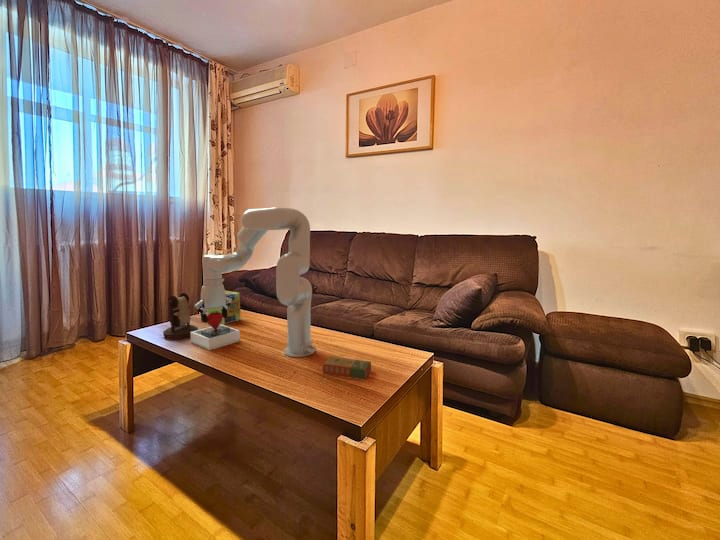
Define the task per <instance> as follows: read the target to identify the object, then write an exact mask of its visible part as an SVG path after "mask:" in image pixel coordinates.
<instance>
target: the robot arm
mask: <svg viewBox="0 0 720 540" xmlns="http://www.w3.org/2000/svg"><path fill="white" fill-rule="evenodd" d="M240 219H241V220H240V221H241V222H240V223H241V225H242V228H241V229H240V230H239V231H238V232H237V235H236V238H237V240H238V241H239V243H240V244H239V246H238V248H236V250H235V251H234V252H233V253H229V254H223V255H219V254H217V253H216V254H215V253H214V254H213V253H212V254H210V253H209V254H205V255H203V256H202V259H201V261H202V277H203V278H202V279H203V285H202V286H201V290H200V299H199V301H198V302H196V303H195V304H194V308H195V310H196V311H197V312H198V313H199V314H200V320H201V323H204V324H206V323H207V310H208V309H212V308H217V307H222V308H223V309H222V315H223V318H227V309H228V307H229V306H230V303H231V301H232V299H231V298H229V297H226V294H225V291H226V290H225V287H224V284H223V282H224V281H225V278H223V275H222V274H223V273H224V274H226V273H230V272H234V271H238V270H240V269H241V268H243V267H244V266H245V265H246V264H247V263H248V261H249V260H250V259H251V258H252V256H253V254H254V251H255V246H256V245H257V244H258V243H259V241H260V240H261V239H262V238H263V237H264V236H265V234H266V233H267V232H268V231H277V230H278V231H282V230H283V231H284V230H289V231H290V232H289V233H290V234H289V237H288V252H287V253H285V254H283V255H281V256H280V257H279V259H278V260H277V262H276V268H275V269H276V273H275V278H276V280H275V281H276V283H275V284H276V285H275V287H276V289H275V292H276V297H277V300H278V301H279V302H280V304H282V305H284V306H286V307H287V310H286V312H287V313H286V314H287V316H286V317H287V318H286V319H287V320H286V322H287V324H286V325H287V346H286V347H285V348H284V349H283V353H284V355H285V356H288V357H290V358H303V357H308V356H311V355H312V354H314V353H315V351H316V350H317V346H313V342H312V340H311V337H312V336H311V335H312V334H311V326H312V325H311V308H312V307H311V305H312V304H311V303H312V298H313V296H312V295H313V287H312V284H311V282H310V281H309V279H307V278H305V277H301V275H303V274H306V273H307V272H308V271H309V269H310V266H311V265H310V263H311V261H310V259H311V257H310V255H311V254H310V253H311V250H310V249H311V245H310V244H311V243H310V242H311V241H310V240H311V225H310V221H309V219H308V217H307V216H306V215H305V214H304V213H303V212H301V210H298V209H295V208H290V207H278V206H277V207H267V208H263V207H262V208H250V209H247V210H245V212H244V213H242V215H241V218H240ZM226 300H227V303H226ZM207 324H208V323H207Z"/></svg>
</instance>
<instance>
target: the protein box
mask: <svg viewBox="0 0 720 540" xmlns="http://www.w3.org/2000/svg"><path fill="white" fill-rule="evenodd" d="M225 294H226V297H229V298H231V299H232V301H231V303H230V306H229V307H228V309H227V318H222V321H221V323H222V325H224V324H225V325H227V324H233V323H235V321H236V322H239V320H240V321H241V320H242V319H241V318H242V317H241V298H240V297H241V296H240V292H236V291H232V290H231V291H229V290H225ZM226 303H227V300H226ZM222 309H223V308H222V307H217V308H212V309H208V310H207V312H206V314H207V315H208V314H210V312H212V311H219V312H220V313H221V314H222ZM221 323H220V324H221Z"/></svg>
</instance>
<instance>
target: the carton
mask: <svg viewBox="0 0 720 540" xmlns="http://www.w3.org/2000/svg"><path fill="white" fill-rule="evenodd" d="M371 370H372V363H371V361H370V360H361V359H352V358H346V357H345V358H344V357H339V356H330V357H329V358H328V359H326V361H325V362H324V363H323V364H322V374H323V375H325V374H327V375H326V376H332V375H334V376H333V377H339V376H343V377H342V378H346V377H350V378H349V379H353V378H357V379H356V380H360V379H364V380H363V381H366V380H367V378H368V377H367V376H369V375H370V373H371ZM368 374H369V375H368Z"/></svg>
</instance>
